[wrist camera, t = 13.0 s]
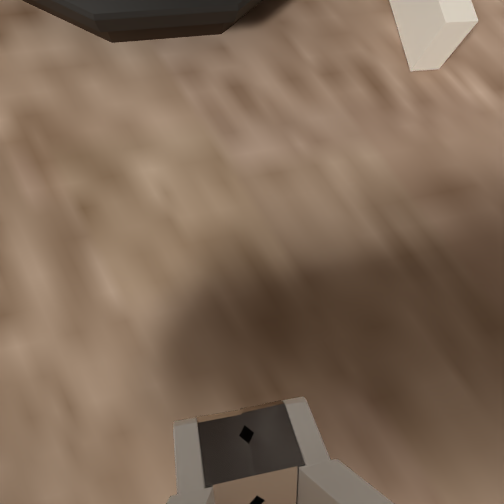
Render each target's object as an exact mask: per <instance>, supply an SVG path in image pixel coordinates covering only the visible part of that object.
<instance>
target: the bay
mask: <svg viewBox="0 0 504 504" xmlns="http://www.w3.org/2000/svg"><path fill="white" fill-rule="evenodd" d="M389 1H390V4H391V8H392V11H393V14H394V18H395V21H396V25H397V28H398V31H399V35H400V38H401V41H402V45H403V48H404V51H405V55H406V58H407V61H408V65H409V68H410V71H420V70H435V69H439V68H440V67H441V66H442V65H443V64H444V62H445V61H446V60H447V59H448V57H449V56H450V55H451V54H452V53H453V51H454V50H455V49H456V48H457V46H458V45H459V44H460V43H461V42H462V40H463V39H464V38H465V37H466V35H467V34H468V33H469V32H470V31H471V29H472V28H473V27H474V26H475V25H476V23H477V22H478V19H477V16H476V13H475V10H474V7H473V4H472V1H471V0H389Z"/></svg>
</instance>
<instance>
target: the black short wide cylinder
mask: <svg viewBox="0 0 504 504" xmlns="http://www.w3.org/2000/svg"><path fill="white" fill-rule="evenodd" d="M23 1H25V2H27V3H29V4H31V5H33V6H35V7H37V8H40V9H42V10H44V11H46V12H48V13H50V14H52V15H54V16H57V17H59V18H61V19H63V20H65V21H67V22H69V23H71V24H74V25H76V26H78V27H80V28H82V29H84V30H86V31H88V32H90V33H93V34H95V35H97V36H99V37H101V38H103V39H105V40H107V41H110V42H112V43H115V42H127V41H140V40H152V39H165V38H177V37H190V36H202V35H215V34H222V33H223V32H224V31H225V30H227V29H228V28H229V27H230V26H232V25H233V24H234V23H235V22H237V21H238V20H239V19H240V18H241V17H243V16H244V15H245V14H246V13H248V12H249V11H250V10H251V9H253V8H254V7H255V6H256V5H258V4H259V3H260V2H261V1H262V0H23Z"/></svg>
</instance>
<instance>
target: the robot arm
mask: <svg viewBox="0 0 504 504" xmlns="http://www.w3.org/2000/svg"><path fill="white" fill-rule="evenodd" d="M197 422H198V424H197ZM173 435H174V452H175V468H176V484H177V494H176V495H172V496H170V497H169V499H168V501H167V503H166V504H394V503H393V502H392V501H390V500H389V499H388V498H387V497H385V496H384V495H383V494H382V493H380V492H379V491H378V490H376V489H375V488H374V487H373V486H371V485H370V484H369V483H368V482H366V481H365V480H364V479H363V478H361V477H360V476H359V475H357V474H356V473H355V472H354V471H352V470H351V469H350V468H349V467H347V466H346V465H345V464H344V463H342V462H341V461H340V460H338V459H333V460H331V459H330V456H329V454H328V451H327V449H326V447H325V444H324V442H323V439H322V437H321V434H320V432H319V429H318V427H317V424H316V422H315V419H314V417H313V415H312V412H311V410H310V407H309V405H308V402H307V400H306V399H305V398H304V397H303V396H302V397H297V398H292V399H287V400H282V401H281V400H279V401H274V402H270V403H265V404H260V405H255V406H251V407H246V408H241V409H240V410H235V411H229V412H223V413H217V414H211V415H206V416H200V417H197V418H196V417H194V418H189V419H183V420H178V421H174V425H173Z"/></svg>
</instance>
